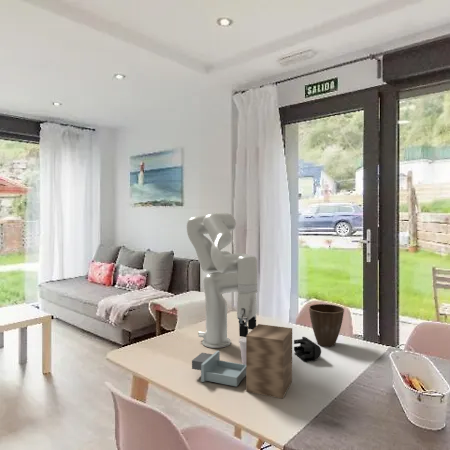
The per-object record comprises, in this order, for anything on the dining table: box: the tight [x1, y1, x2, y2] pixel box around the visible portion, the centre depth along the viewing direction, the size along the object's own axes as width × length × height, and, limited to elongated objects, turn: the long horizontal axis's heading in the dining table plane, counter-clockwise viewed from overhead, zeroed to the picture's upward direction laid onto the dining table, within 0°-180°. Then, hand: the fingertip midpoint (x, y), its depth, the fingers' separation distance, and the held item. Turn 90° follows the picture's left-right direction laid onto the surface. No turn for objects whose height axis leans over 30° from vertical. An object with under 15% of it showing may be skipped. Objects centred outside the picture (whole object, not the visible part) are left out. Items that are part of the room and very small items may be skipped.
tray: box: [191, 350, 246, 387], centre depth 134 cm, size 18×14×6 cm
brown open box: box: [245, 323, 293, 399], centre depth 126 cm, size 12×13×19 cm
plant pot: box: [308, 303, 345, 348], centre depth 166 cm, size 15×15×16 cm
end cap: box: [293, 336, 322, 363], centre depth 151 cm, size 10×7×7 cm
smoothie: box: [238, 336, 246, 365], centre depth 144 cm, size 6×6×14 cm
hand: (248, 332), depth 143 cm, fingers open, 9 cm apart
